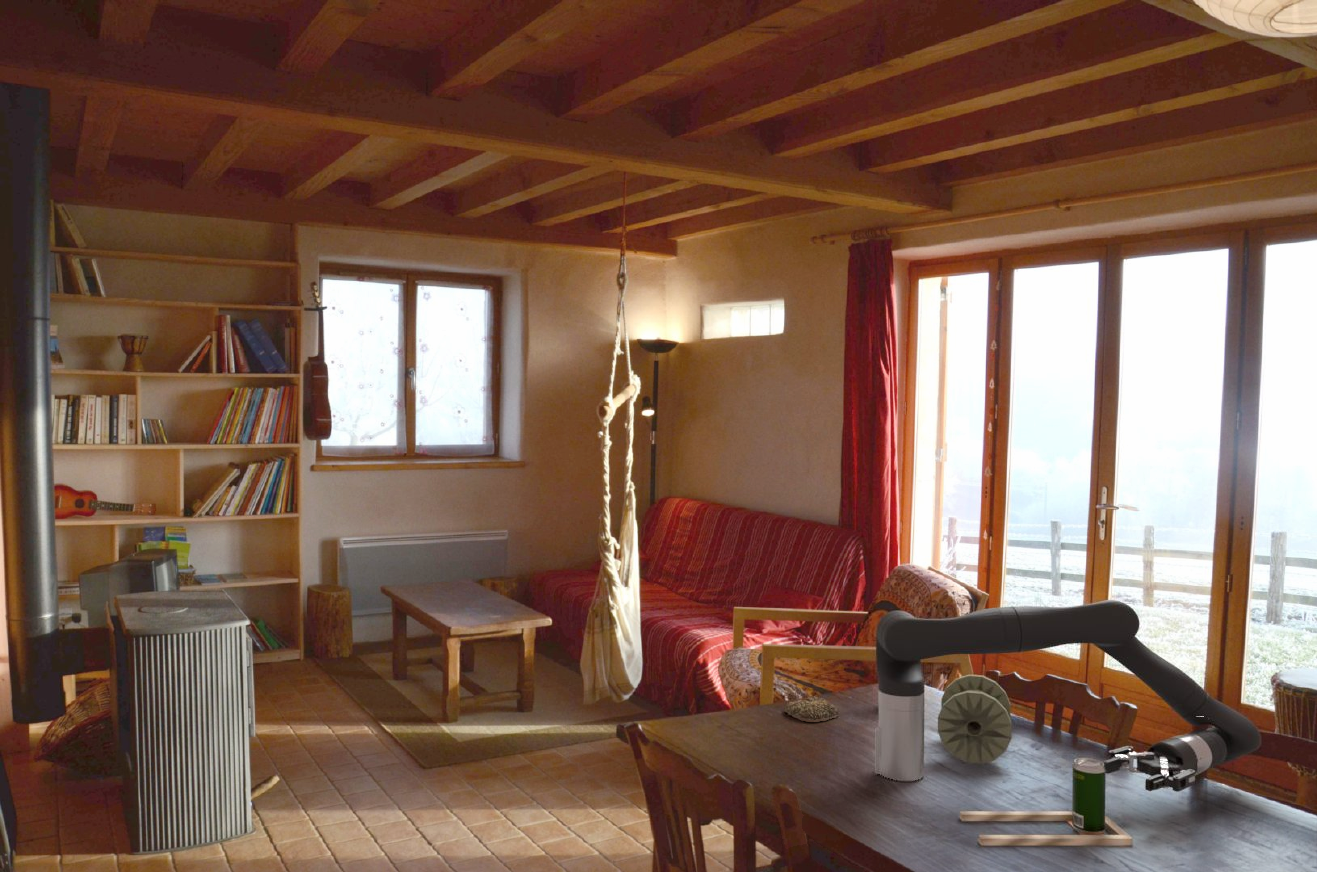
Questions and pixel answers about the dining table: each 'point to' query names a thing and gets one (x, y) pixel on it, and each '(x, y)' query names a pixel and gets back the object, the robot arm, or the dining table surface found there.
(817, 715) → the speckled domed shell
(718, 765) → the dining table surface
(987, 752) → the spool
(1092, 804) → the beer can
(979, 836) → the frame
